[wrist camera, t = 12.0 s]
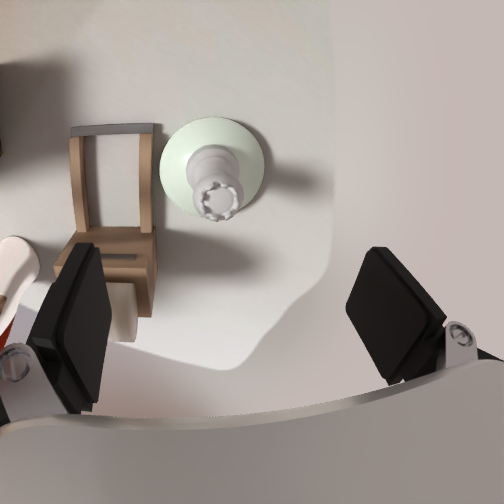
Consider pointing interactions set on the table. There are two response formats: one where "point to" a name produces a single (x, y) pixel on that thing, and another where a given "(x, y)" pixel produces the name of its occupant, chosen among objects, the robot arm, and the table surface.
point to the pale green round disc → (208, 134)
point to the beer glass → (14, 279)
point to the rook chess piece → (215, 182)
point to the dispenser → (118, 234)
